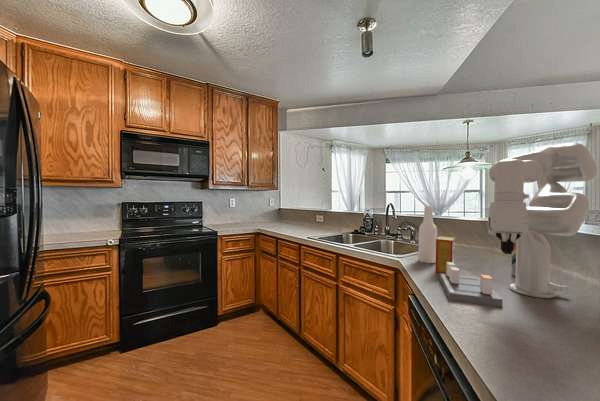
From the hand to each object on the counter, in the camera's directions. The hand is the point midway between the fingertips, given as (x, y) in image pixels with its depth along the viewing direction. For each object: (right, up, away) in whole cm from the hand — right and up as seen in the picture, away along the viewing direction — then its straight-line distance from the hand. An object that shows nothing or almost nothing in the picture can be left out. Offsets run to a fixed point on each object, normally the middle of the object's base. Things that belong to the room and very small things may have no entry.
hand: (506, 253), depth 87 cm
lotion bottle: (+29, -16, +30) cm, 45 cm away
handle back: (-7, -13, +20) cm, 25 cm away
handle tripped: (-5, -14, +2) cm, 15 cm away
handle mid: (-10, -13, +13) cm, 21 cm away
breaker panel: (-6, -16, +11) cm, 21 cm away
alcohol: (0, -16, +54) cm, 56 cm away
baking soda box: (-1, -16, +36) cm, 39 cm away
